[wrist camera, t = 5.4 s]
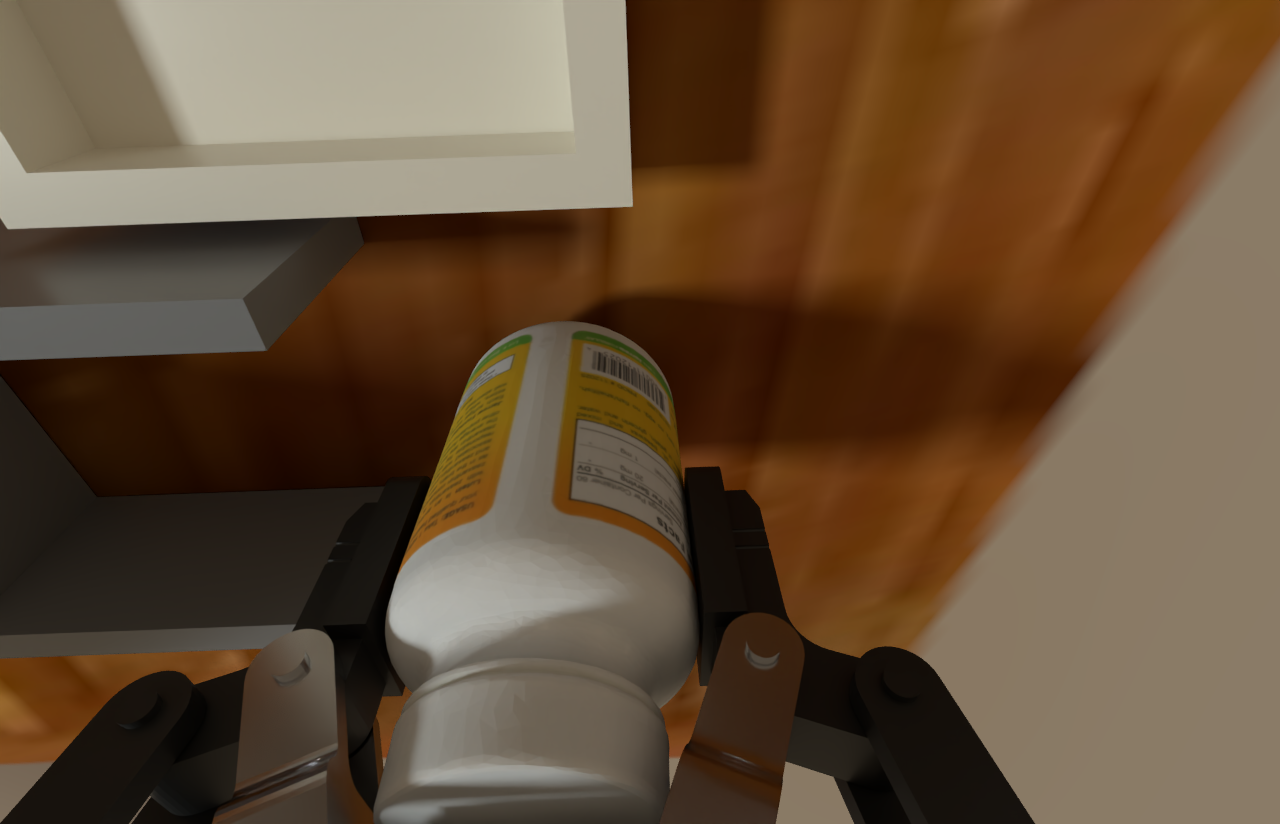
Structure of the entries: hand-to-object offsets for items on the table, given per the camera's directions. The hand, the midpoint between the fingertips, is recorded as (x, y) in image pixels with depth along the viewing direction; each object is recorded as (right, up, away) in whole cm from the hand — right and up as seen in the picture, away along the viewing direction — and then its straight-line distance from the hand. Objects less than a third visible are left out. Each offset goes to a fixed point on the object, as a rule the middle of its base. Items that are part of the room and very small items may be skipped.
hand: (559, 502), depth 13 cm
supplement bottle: (0, +2, +3) cm, 4 cm away
